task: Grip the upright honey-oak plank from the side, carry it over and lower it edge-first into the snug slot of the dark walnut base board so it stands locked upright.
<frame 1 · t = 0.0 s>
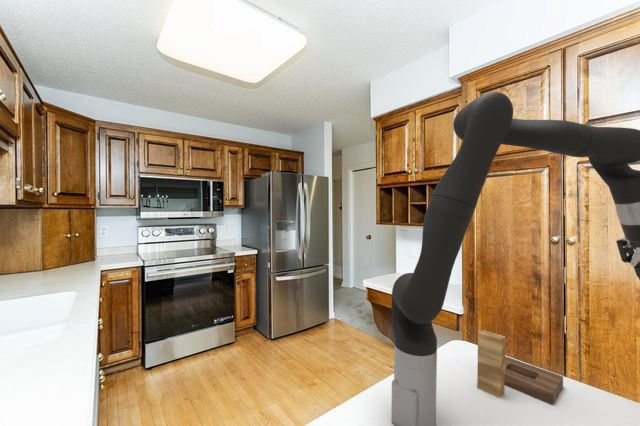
base board: (521, 381, 81), on the countertop
plank: (490, 390, 77), on the countertop
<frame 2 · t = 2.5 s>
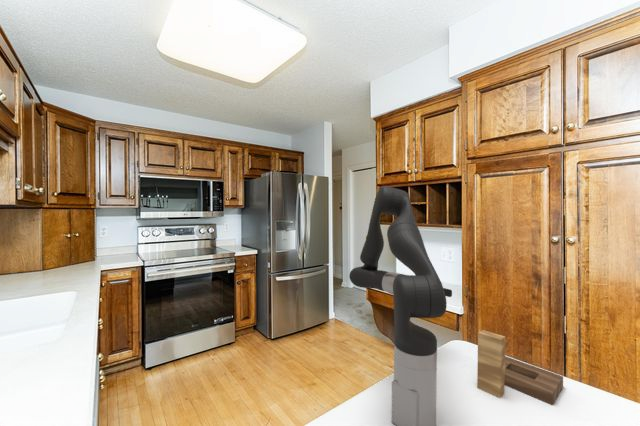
hand: (444, 296, 86), 22 cm above the countertop, tool horizontal, fingers open, 8 cm apart
nothing on the countertop moved.
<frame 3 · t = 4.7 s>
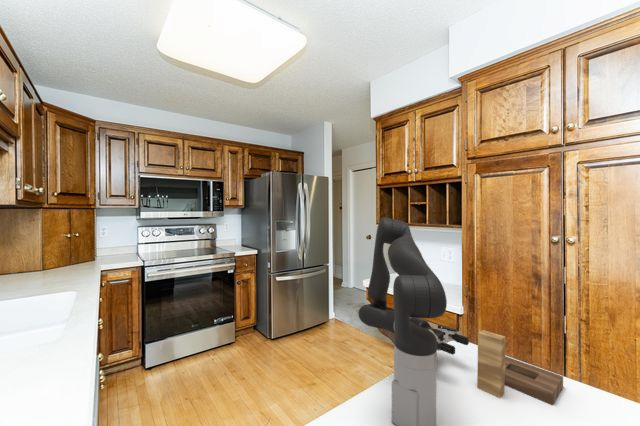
hand: (461, 346, 82), 9 cm above the countertop, tool horizontal, fingers open, 8 cm apart
nothing on the countertop moved.
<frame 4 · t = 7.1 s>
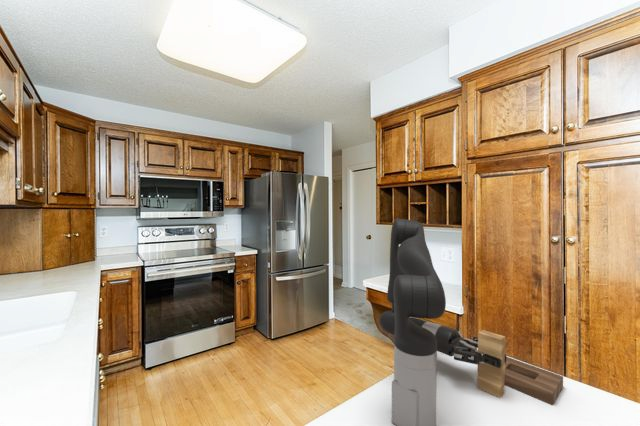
hand: (503, 361, 74), 9 cm above the countertop, tool horizontal, fingers closed on plank, 3 cm apart
plank: (490, 390, 77), on the countertop, touching gripper
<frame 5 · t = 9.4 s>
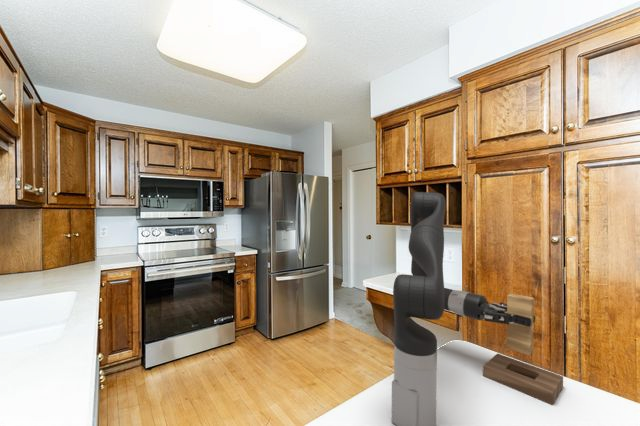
hand: (532, 320, 78), 18 cm above the countertop, tool horizontal, fingers closed on plank, 3 cm apart
plank: (519, 349, 81), point 9 cm above the countertop, touching gripper
when the fingers open (10 cm above the countertop, at t = 11.6 s): plank drops 1 cm, resting in base board.
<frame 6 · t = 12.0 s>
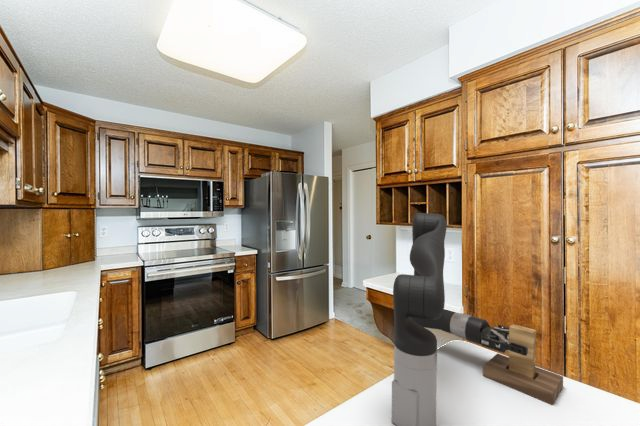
hand: (531, 347, 79), 10 cm above the countertop, tool horizontal, fingers open, 7 cm apart
plank: (521, 381, 81), resting in base board
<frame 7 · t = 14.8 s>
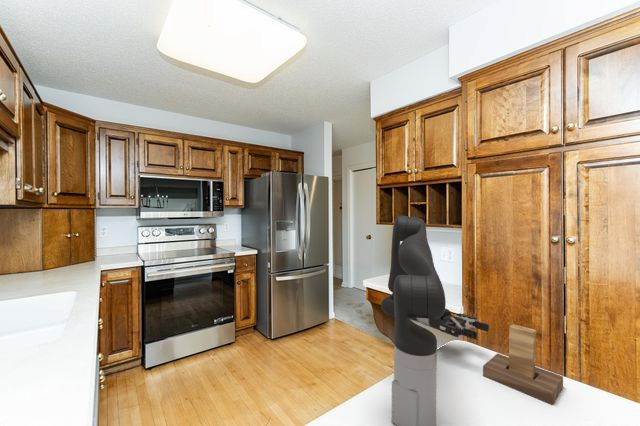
hand: (483, 332, 88), 11 cm above the countertop, tool horizontal, fingers open, 8 cm apart
nothing on the countertop moved.
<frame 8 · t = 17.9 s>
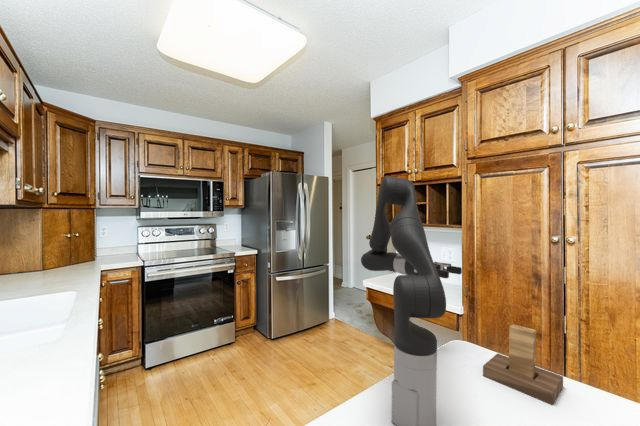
hand: (455, 273, 91), 28 cm above the countertop, tool horizontal, fingers open, 8 cm apart
nothing on the countertop moved.
at the end: plank 0.0 cm off-centre on the base board, point 0.0 cm above the base board's base; plank tilted 0°; the gripper is holding nothing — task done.
